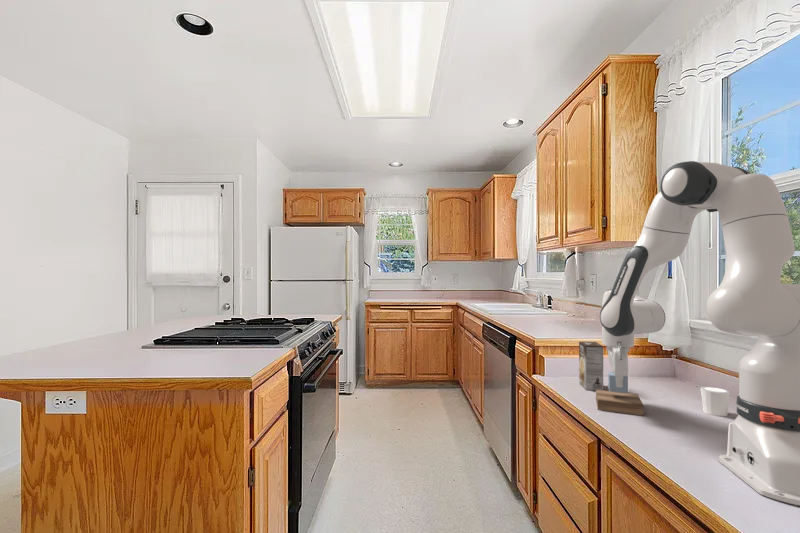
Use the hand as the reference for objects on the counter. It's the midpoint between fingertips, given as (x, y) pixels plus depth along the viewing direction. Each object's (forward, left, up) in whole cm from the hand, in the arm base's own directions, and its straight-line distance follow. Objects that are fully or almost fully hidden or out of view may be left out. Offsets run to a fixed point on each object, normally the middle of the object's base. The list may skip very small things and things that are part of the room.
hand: (618, 384), depth 123 cm
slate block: (0, 0, -2) cm, 2 cm away
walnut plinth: (0, 0, -7) cm, 7 cm away
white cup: (+6, -26, -7) cm, 28 cm away
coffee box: (+21, +7, -7) cm, 23 cm away
